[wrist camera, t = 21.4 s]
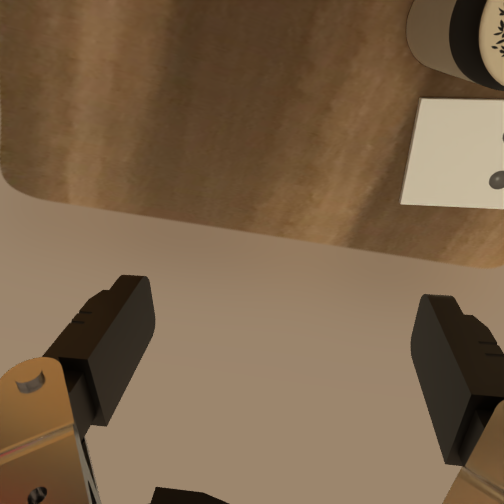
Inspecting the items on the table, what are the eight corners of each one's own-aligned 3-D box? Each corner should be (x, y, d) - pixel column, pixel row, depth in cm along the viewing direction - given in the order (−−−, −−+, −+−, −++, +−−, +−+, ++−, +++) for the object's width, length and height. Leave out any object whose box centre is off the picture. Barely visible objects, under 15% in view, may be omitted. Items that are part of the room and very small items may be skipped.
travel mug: (481, 73, 38) (602, 105, 22) (395, 65, 38) (455, 92, 23) (514, -30, 34) (691, -78, 18) (419, -36, 34) (510, -88, 19)
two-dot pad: (419, 97, 39) (421, 98, 39) (538, 99, 38) (543, 101, 37) (399, 201, 45) (400, 204, 44) (502, 206, 44) (506, 209, 43)
